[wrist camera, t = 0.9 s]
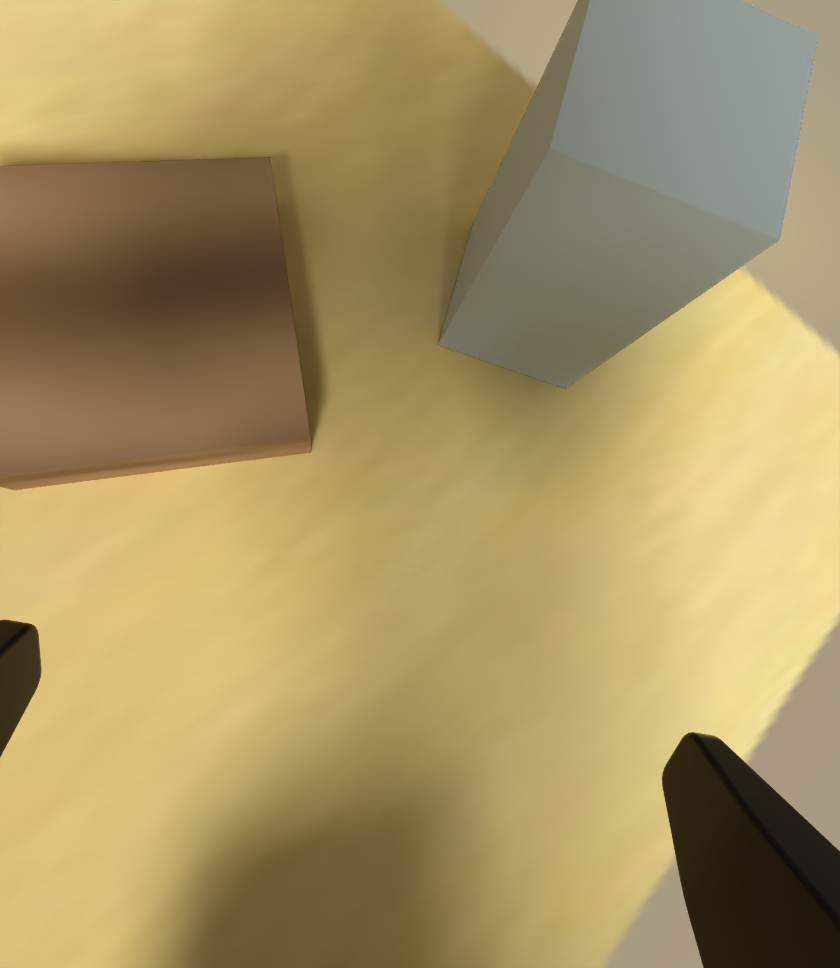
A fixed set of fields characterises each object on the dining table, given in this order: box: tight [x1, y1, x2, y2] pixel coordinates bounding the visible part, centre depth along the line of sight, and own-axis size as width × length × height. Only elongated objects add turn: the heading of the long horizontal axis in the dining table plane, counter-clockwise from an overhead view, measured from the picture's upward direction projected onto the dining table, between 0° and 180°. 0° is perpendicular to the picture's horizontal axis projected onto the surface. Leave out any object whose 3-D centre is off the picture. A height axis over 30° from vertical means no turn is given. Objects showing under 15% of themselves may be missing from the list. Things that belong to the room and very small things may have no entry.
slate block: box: [438, 0, 818, 389], centre depth 19 cm, size 6×6×12 cm
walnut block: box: [0, 157, 311, 490], centre depth 21 cm, size 10×10×3 cm
